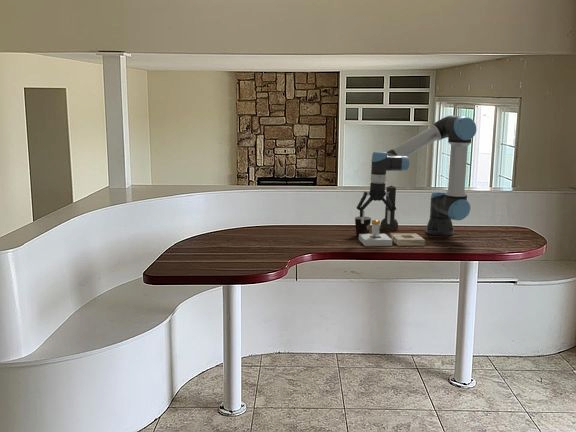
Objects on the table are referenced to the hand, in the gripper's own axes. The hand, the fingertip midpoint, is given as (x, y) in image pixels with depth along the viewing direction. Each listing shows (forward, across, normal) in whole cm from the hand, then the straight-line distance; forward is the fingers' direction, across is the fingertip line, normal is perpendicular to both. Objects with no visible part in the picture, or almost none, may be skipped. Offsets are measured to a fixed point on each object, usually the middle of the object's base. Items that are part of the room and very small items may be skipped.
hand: (375, 223), depth 326 cm
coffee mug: (+10, -2, +15) cm, 18 cm away
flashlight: (+10, +16, +31) cm, 37 cm away
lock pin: (+10, 0, 0) cm, 10 cm away
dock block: (+10, +17, 0) cm, 20 cm away
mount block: (+10, 0, 0) cm, 10 cm away
